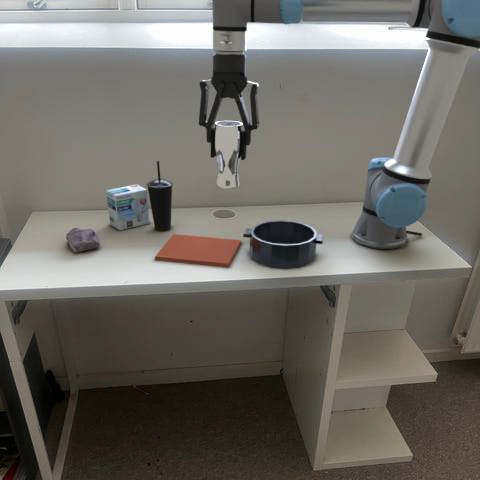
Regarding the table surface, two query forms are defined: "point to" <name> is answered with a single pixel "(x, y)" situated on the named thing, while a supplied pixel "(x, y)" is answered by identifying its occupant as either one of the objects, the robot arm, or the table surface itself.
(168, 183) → the drinking cup
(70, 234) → the rock
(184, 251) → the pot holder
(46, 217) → the table surface
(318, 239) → the pot
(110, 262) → the table surface
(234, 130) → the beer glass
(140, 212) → the light bulb box
